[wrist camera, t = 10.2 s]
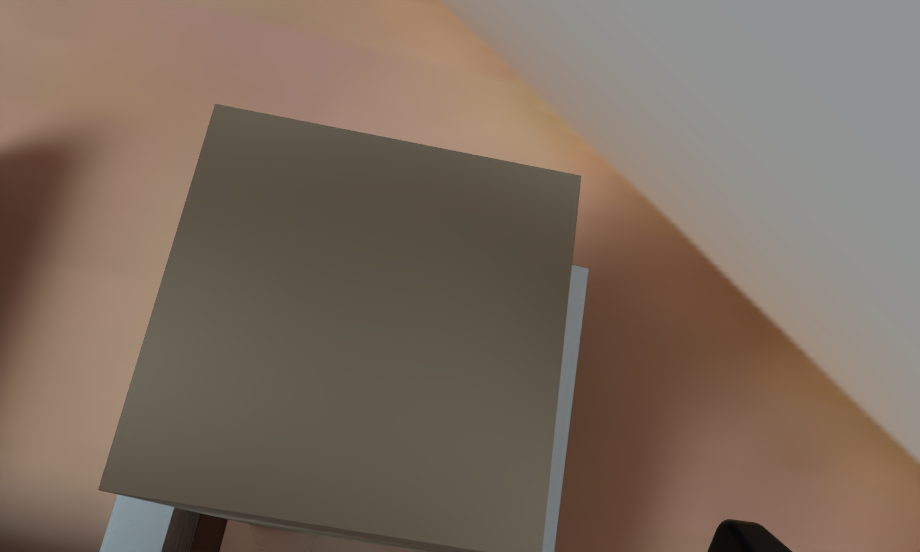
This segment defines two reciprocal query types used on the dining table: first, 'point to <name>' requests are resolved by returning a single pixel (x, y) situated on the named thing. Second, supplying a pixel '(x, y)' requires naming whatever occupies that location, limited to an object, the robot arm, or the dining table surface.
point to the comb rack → (263, 548)
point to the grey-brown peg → (355, 341)
